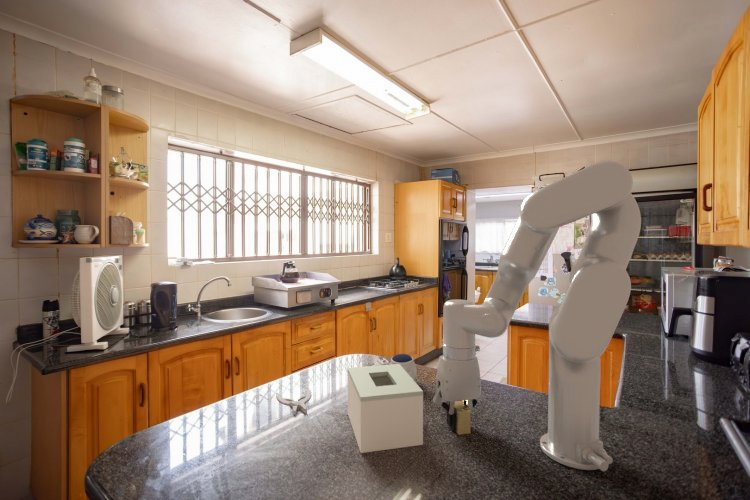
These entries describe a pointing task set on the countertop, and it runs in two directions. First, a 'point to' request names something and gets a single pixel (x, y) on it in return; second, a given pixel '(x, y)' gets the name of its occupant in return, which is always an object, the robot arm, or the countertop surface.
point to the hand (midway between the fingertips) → (458, 426)
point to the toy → (401, 359)
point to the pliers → (296, 402)
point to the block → (462, 418)
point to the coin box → (384, 407)
